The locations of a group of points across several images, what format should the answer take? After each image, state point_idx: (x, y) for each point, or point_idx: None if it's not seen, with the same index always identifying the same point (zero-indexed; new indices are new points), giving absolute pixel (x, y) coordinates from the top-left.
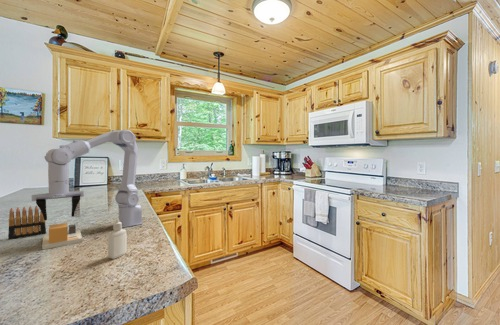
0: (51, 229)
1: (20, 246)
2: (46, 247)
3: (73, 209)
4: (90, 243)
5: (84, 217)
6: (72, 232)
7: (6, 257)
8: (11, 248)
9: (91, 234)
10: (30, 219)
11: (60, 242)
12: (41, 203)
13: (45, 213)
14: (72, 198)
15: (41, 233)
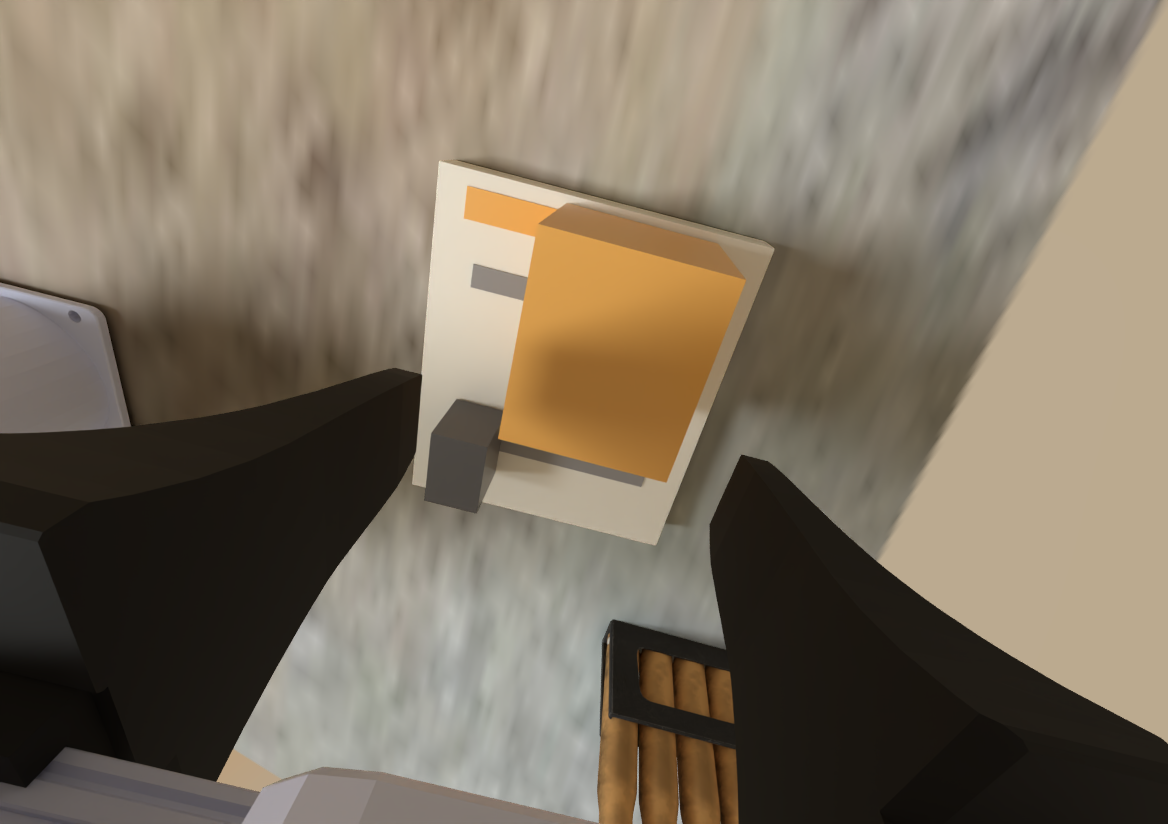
0: (717, 270)
1: (820, 479)
2: (736, 235)
3: (326, 405)
4: (395, 19)
5: (346, 757)
6: (478, 409)
7: (1006, 282)
8: (874, 483)
9: (350, 339)
10: (703, 781)
11: (628, 210)
12: (1068, 728)
13: (795, 517)
14: (41, 571)
15: (635, 632)
